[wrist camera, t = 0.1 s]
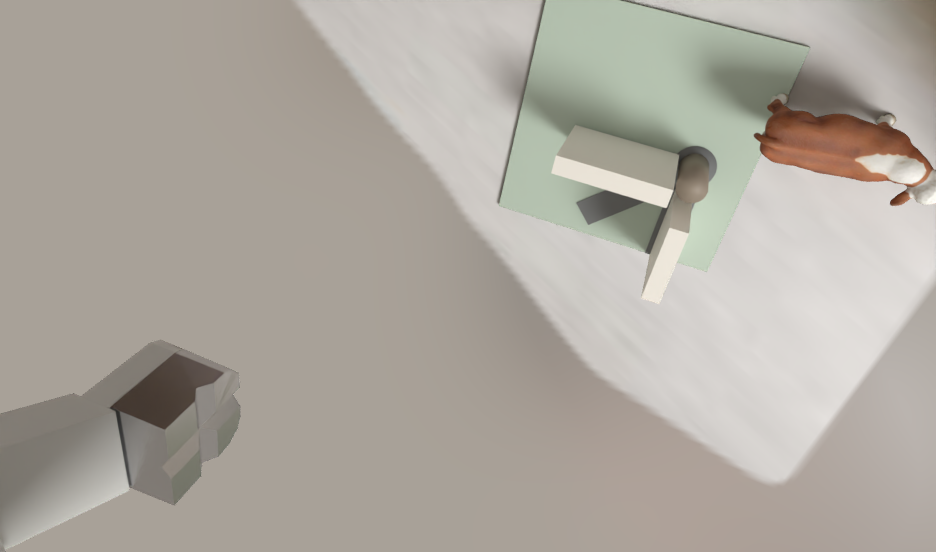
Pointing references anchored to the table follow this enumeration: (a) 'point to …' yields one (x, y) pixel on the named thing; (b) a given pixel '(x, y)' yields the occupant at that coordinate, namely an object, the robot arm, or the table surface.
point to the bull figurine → (848, 149)
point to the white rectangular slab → (617, 165)
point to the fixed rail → (675, 225)
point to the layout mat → (644, 114)
